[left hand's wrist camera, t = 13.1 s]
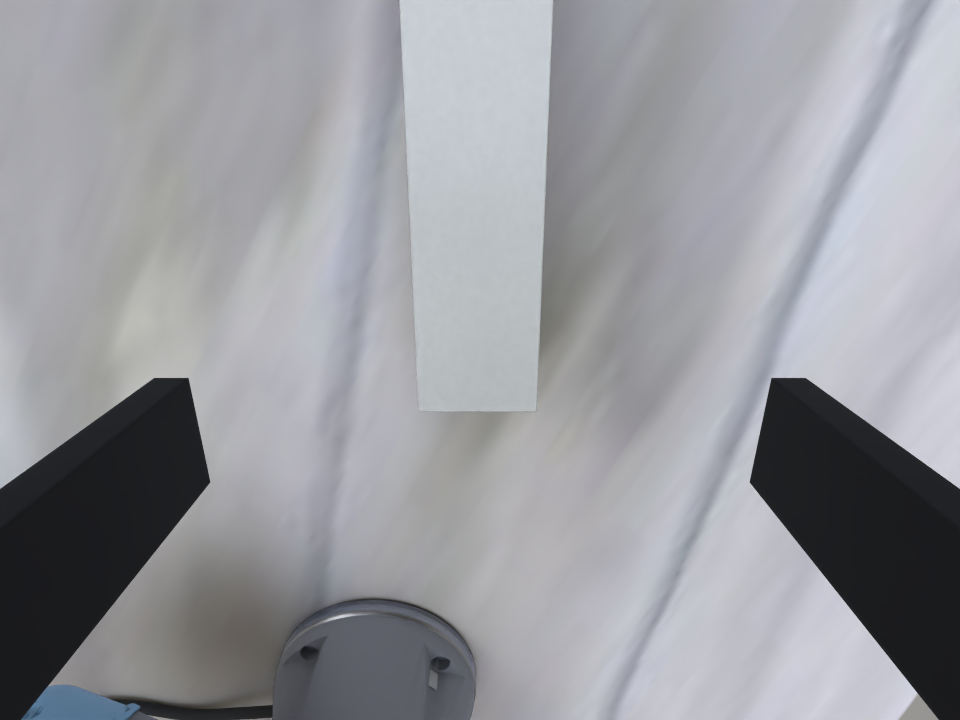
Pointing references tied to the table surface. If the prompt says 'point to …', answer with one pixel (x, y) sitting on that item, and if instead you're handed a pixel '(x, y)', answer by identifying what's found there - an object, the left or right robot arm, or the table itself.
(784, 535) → the table surface
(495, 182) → the bar
